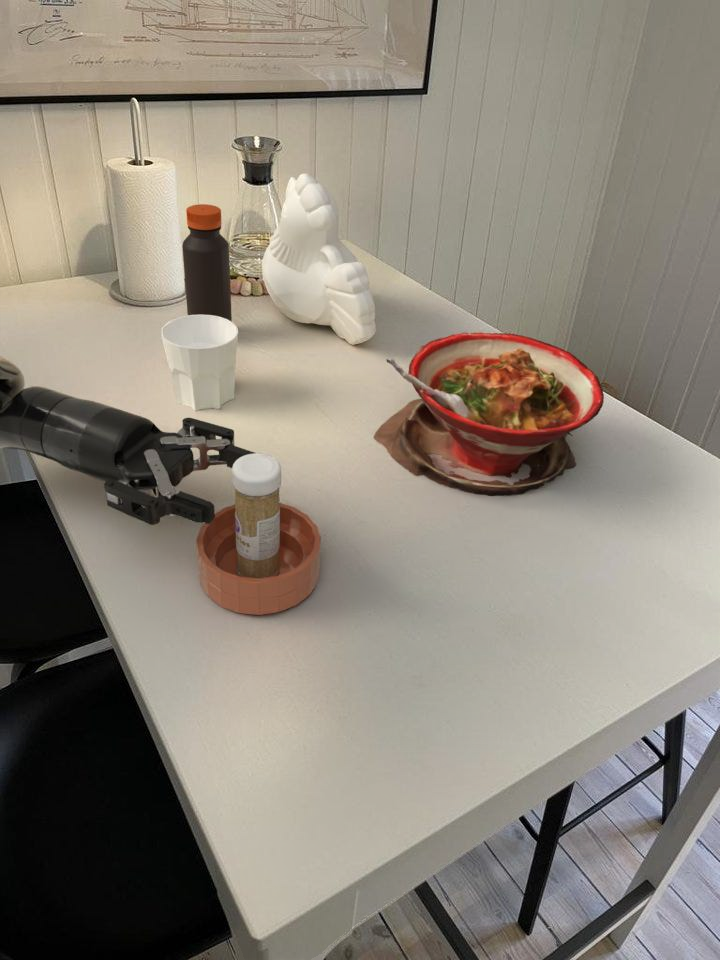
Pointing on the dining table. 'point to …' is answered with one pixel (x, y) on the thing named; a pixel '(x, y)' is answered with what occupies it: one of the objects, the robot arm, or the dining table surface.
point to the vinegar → (206, 263)
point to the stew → (491, 410)
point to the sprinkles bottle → (257, 515)
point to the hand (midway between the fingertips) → (237, 489)
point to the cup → (201, 359)
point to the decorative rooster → (317, 266)
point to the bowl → (259, 593)
